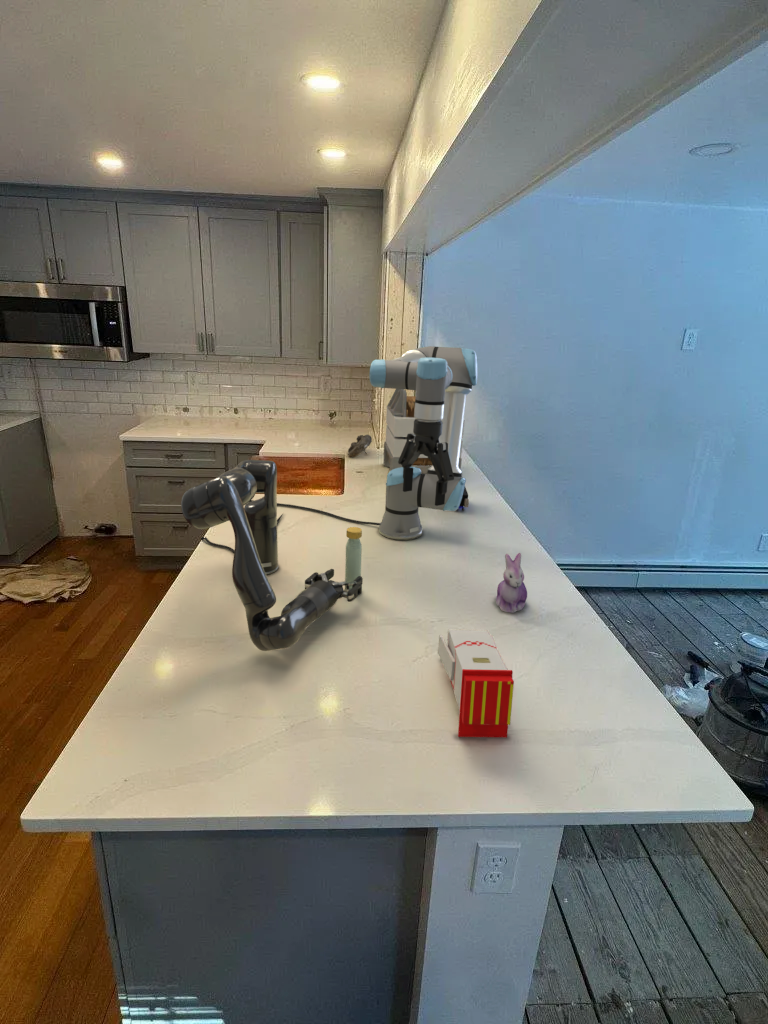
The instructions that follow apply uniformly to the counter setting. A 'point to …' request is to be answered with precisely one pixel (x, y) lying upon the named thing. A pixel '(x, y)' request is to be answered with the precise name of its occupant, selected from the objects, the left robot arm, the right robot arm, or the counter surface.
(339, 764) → the counter surface
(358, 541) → the bottle
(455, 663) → the toy
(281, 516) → the feather
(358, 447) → the fossil
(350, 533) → the cap
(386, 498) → the right robot arm
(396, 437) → the transformer
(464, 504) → the figurine character
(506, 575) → the figurine
